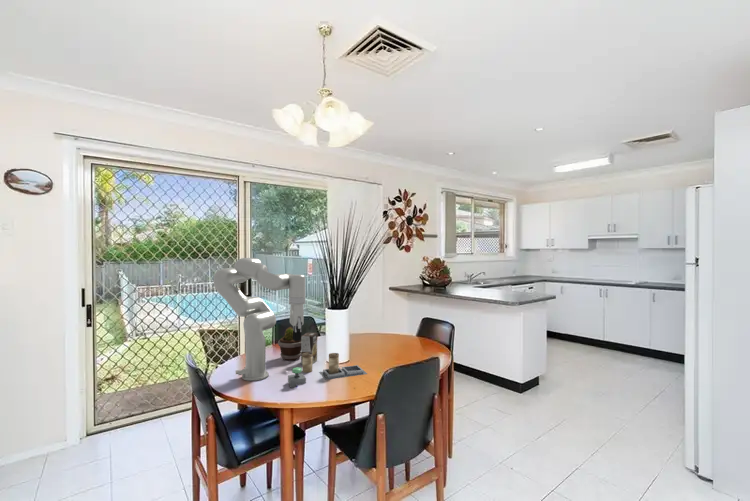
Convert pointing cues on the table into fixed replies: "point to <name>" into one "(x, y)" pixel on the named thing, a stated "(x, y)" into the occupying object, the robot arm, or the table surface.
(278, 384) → the table surface
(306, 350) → the coffee box
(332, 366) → the cylinder
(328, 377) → the tray
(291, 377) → the console
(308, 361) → the cylinder
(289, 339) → the flowerpot
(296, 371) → the button
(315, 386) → the table surface
